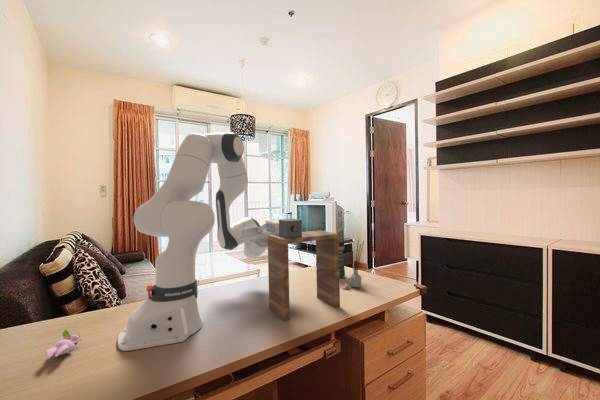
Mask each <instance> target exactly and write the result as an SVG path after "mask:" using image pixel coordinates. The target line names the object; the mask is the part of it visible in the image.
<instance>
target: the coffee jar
mask: <svg viewBox="0 0 600 400" xmlns="http://www.w3.org/2000/svg"><path fill="white" fill-rule="evenodd" d="M344 240H345V239H342V238H340V237H339V279H342V278H344V277H345V276H346V270H345V261H344V251H345V247H346V246H345V241H344Z"/></svg>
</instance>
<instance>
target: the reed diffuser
mask: <svg viewBox="0 0 600 400" xmlns="http://www.w3.org/2000/svg"><path fill="white" fill-rule="evenodd" d="M359 241H360V240H359V239H358V240H357V244H359ZM364 242H365V241H364V240H363V241H362V243H360V245H356V253H357V254H356V256H355V258H356V259H355V261H356V263H355V267H354V261H353V258H352V257H353V256H352V252H351V248H350V247H351V246H350V242H347V245H348V248H349V249H348V250H349V253H350V257H351V258H350V259H351V262H352V263H351V264H352V268H353V273H352V274H350V277H349V279H350V281H349V283H350V285H348V283H347V282H346V283H344V286H343V288H344V289H350V286H351V287H354V288H360V287H362V276H361V274H359V269H358V268H359V264H360V260H361V255H362V252H363V245H364Z"/></svg>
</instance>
